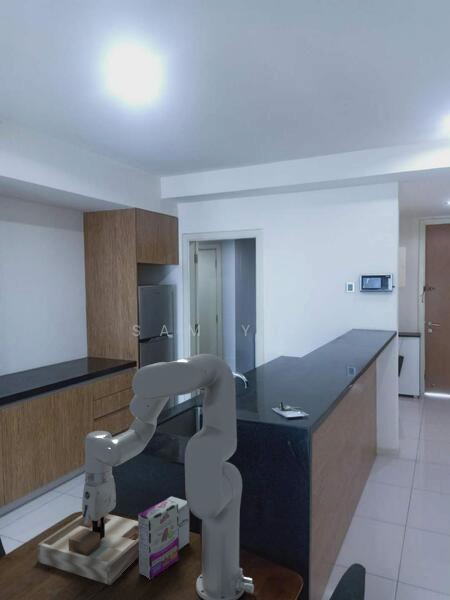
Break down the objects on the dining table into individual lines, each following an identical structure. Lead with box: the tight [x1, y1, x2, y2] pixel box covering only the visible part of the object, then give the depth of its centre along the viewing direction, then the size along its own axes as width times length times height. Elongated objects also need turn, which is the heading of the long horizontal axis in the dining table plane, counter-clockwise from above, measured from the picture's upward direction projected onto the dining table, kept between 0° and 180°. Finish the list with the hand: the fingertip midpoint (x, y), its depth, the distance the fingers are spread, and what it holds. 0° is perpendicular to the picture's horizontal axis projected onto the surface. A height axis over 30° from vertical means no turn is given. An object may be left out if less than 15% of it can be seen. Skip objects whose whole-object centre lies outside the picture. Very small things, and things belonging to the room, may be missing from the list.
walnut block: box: [69, 528, 100, 556], centre depth 126 cm, size 6×6×4 cm
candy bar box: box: [137, 498, 180, 581], centre depth 123 cm, size 11×5×16 cm, turn 143°
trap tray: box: [37, 513, 139, 586], centre depth 131 cm, size 25×25×5 cm
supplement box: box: [167, 496, 190, 550], centre depth 133 cm, size 7×7×13 cm
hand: (98, 537), depth 130 cm, fingers closed
